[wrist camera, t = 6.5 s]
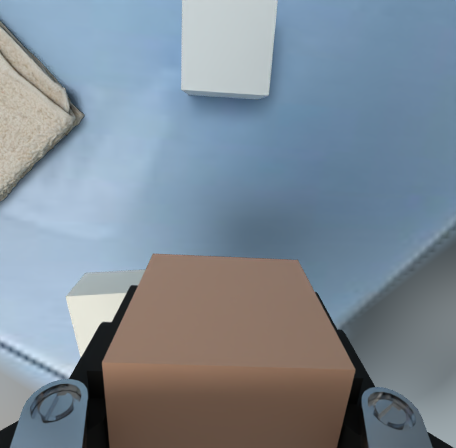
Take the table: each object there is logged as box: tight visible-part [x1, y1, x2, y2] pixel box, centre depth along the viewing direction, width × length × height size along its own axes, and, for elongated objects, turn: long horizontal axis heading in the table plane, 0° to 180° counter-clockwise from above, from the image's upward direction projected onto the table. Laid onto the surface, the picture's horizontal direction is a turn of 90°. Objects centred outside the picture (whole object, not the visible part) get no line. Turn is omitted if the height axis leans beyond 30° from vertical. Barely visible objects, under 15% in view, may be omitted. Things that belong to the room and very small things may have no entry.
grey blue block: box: [181, 0, 278, 100], centre depth 20 cm, size 5×5×5 cm
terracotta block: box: [102, 254, 355, 448], centre depth 9 cm, size 5×5×5 cm
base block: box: [66, 269, 146, 357], centre depth 27 cm, size 9×9×4 cm
